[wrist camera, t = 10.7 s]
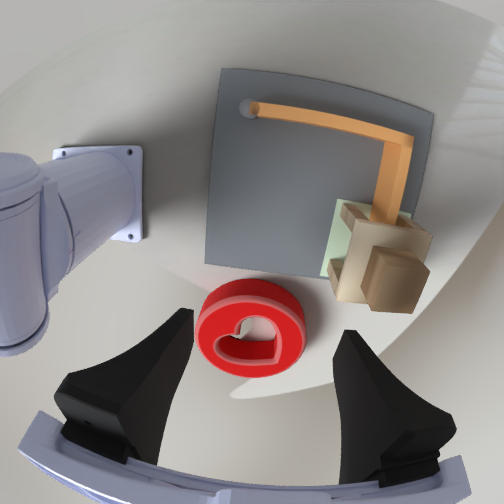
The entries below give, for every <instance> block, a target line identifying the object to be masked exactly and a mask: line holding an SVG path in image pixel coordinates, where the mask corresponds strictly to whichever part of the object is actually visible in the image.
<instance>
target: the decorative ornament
mask: <svg viewBox="0 0 504 504" xmlns="http://www.w3.org/2000/svg"><path fill="white" fill-rule="evenodd" d="M250 317H262V318H265V319H267V320H269V321H270V322H271V323H272V324H273V326H274V328H275V331H276V335H275V339H274V340H271V341H241V340H239V338H235V337H233V336H231V335H239V334H240V329H241V323H242V322H243V321H244V320H245V319H247V318H250ZM195 339H196V343H197V346H198V348H199V350H200V352H201V353H202V355H203V356H204V357H205V358H206V359H207V360H208V361H209V362H210V363H211V364H212V365H213V366H215V367H217V368H218V369H220V370H222V371H224V372H226V373H229V374H232V375H235V376H240V377H246V378H261V377H268V376H272V375H276V374H279V373H281V372H283V371H285V370H287V369H289V368H290V367H291V366H292V365H293V364H295V363H296V362H297V361H298V359H299V358H300V357H301V355H302V353H303V351H304V349H305V346H306V341H307V336H306V328H305V320H304V314H303V310H302V307H301V305H300V303H299V302H298V301H297V299H296V298H295V297H294V296H293V295H292V294H291V293H290V292H288V291H287V290H285V289H284V288H282V287H281V286H279V285H277V284H274V283H271V282H268V281H264V280H259V279H239V280H235V281H231V282H228V283H226V284H224V285H222V286H220V287H219V288H217V289H216V290H214V291H213V292H211V293H210V294H209V295H208V296H207V298H206V300H205V302H204V304H203V307H202V309H201V312H200V315H199V318H198V321H197V323H196V327H195Z"/></svg>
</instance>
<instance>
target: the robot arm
mask: <svg viewBox="0 0 504 504" xmlns="http://www.w3.org/2000/svg"><path fill="white" fill-rule="evenodd" d="M130 149H131V150H132V152H133V153H132V155H130V154H129V150H130ZM64 152H66V155H65V154H64ZM142 162H143V149H142V148H141V147H140V146H85V147H67V148H57V149H55V150H54V151H53V161H49V162H46V163H43V164H39V165H38V164H37V163H36V162H35V161H34V160H33V159H32V158H31V157H29V156H26V155H23V154H18V153H6V152H2V153H0V357H10V356H14V355H19V354H21V353H24V352H26V351H27V350H29V349H31V348H32V347H33V346H35V345H36V344H37V343H38V342H39V341H40V340H41V339H42V337H43V336H44V334H45V332H46V330H47V328H48V324H49V317H50V316H49V315H50V313H49V307H48V301H49V300H50V299H51V298H52V297H53V296H54V295H55V294H56V293H57V292H58V286H59V283H60V281H61V280H62V279H63V278H64V277H65V276H66V275H67V274H69V273H70V271H72V270H73V269H74V268H75V267H76V266H78V265H79V264H80V263H81V262H82V261H83V260H84V259H86V258H87V257H88V256H89V255H90V254H91V253H92V252H94V251H95V250H96V249H97V248H99V247H100V246H101V245H102V244H103V243H105V242H106V241H107V240H108V239H114V240H121V241H128V242H135V243H138V242H140V241H141V240H142V239H143V227H142ZM130 234H132V235H133V238H132V237H131V236H130ZM193 314H194V310H191V309H186V308H180V309H179V310H178V311H177V312H175V313H174V314H173V315H172V316H171V317H170V318H169V319H168V320H167V321H166V322H165V323H164V324H162V325H161V326H160V327H159V328H158V329H157V330H155V331H154V332H153V333H152V334H150V335H149V336H148V337H146V338H145V339H144V340H142V341H141V342H140V343H138V344H137V345H135V346H134V347H132V348H131V349H129V350H127V351H126V352H124V353H122V354H120V355H118V356H116V357H115V358H113V359H110V360H108V361H106V362H103V363H101V364H98V365H96V366H93V367H90V368H87V369H84V370H80V371H76V372H72V373H69V374H68V375H67V376H66V377H65V379H64V380H63V381H62V383H61V385H60V386H59V388H58V390H57V391H56V393H55V394H54V399H55V402H56V404H57V406H58V407H59V409H60V410H61V412H62V413H63V415H64V416H65V417H66V419H67V421H66V422H65V424H63V423H62V422H60V421H59V420H57V419H55V418H53V417H52V416H50V415H48V414H46V413H45V412H43V411H39V412H38V414H37V415H36V417H35V418H34V420H33V422H32V423H31V425H30V427H29V429H28V430H27V432H26V433H25V435H24V437H23V439H22V440H21V442H20V444H19V446H18V447H17V449H18V451H19V452H20V453H21V454H23V455H24V456H25V457H26V458H27V459H28V460H29V461H31V462H32V463H33V464H34V465H35V466H36V467H38V468H39V469H40V470H41V471H43V472H44V473H46V474H47V475H49V476H50V477H52V478H54V479H55V480H58V481H59V482H61V483H62V484H64V485H66V486H68V487H69V488H71V489H73V490H75V491H77V492H79V493H81V494H83V495H84V496H86V497H88V498H90V499H92V500H94V501H97V502H99V503H101V504H455V503H457V502H459V501H461V500H463V499H464V498H466V497H468V496H470V495H471V489H470V485H469V482H468V478H467V474H466V471H465V467H464V464H463V461H462V457H461V455H458V456H455V457H452V458H449V459H446V460H443V461H442V462H439V463H438V460H437V458H438V457H439V456H440V452H439V449H440V448H441V447H443V446H444V445H445V444H446V443H447V442H448V441H449V440H450V439H451V438H452V437H453V436H454V434H455V433H456V430H457V428H456V426H455V423H454V420H453V418H452V415H451V414H449V413H447V412H445V411H443V410H441V409H439V408H437V407H435V406H433V405H432V404H430V403H428V402H427V401H425V400H424V399H422V398H421V397H419V396H418V395H417V394H415V393H414V392H413V391H411V390H410V389H409V388H408V387H406V386H405V385H404V384H403V383H402V382H401V381H400V380H399V379H397V378H396V377H395V376H394V375H393V374H392V373H391V371H390V370H389V369H388V368H387V367H386V366H385V365H384V364H383V363H382V362H381V360H380V359H379V358H378V357H377V356H376V354H375V353H374V352H373V351H372V349H371V348H370V347H369V346H368V344H367V343H366V342H365V341H364V339H363V338H362V337H361V336H360V334H359V333H358V332H357V331H356V330H344V332H343V335H342V337H341V340H340V342H339V345H338V347H337V350H336V352H335V354H334V357H333V377H334V383H335V388H336V394H337V399H338V405H339V411H340V417H341V437H342V438H341V467H340V478H339V485H327V486H275V485H259V484H247V483H239V482H232V481H224V480H218V479H212V478H206V477H201V476H196V475H191V474H187V473H182V472H178V471H174V470H170V469H166V468H162V467H159V466H157V462H158V457H159V452H160V447H161V442H162V438H163V433H164V429H165V425H166V421H167V417H168V414H169V410H170V406H171V403H172V399H173V397H174V394H175V392H176V389H177V387H178V384H179V382H180V380H181V377H182V375H183V373H184V370H185V367H186V365H187V363H188V360H189V357H190V354H191V350H192V347H193V343H194V317H193V316H194V315H193Z"/></svg>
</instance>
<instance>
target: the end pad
mask: <svg viewBox="0 0 504 504" xmlns="http://www.w3.org/2000/svg"><path fill="white" fill-rule="evenodd" d="M342 203H345V204H351V205H355V206H356V207H357V208H358V209H359V210H360V211H361V212H362V213H363V214H364V215H365V216H366V217H367V218H368V219H369V217H370V213H371V209H372V205H369V204H364V203H359V202H354V201H349V200H343V199H338V198H337V203H336V208H335V213H334V217H333V222H332V227H331V231H330V235H329V240H328V244H327V248H326V252H325V256H324V261H323V265H322V269H321V272H320V276H325V277H329V276H328V273H327V267H328V263H329V259H330V260H338V261H342V264H343V265H344V261H345V258H346V254H347V250H348V247H349V243H350V239H351V235H352V232H351V231H350V230H349V228H348V227H347V225H346V224H345V222H344V221H343V220H342V218H341V217H340V212H341V208H342ZM398 214H400V215H405V216H408V217H409V218H410V217H411V213H407V212H402V211H399V212H398Z"/></svg>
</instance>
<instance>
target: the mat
mask: <svg viewBox="0 0 504 504" xmlns="http://www.w3.org/2000/svg"><path fill="white" fill-rule="evenodd" d="M247 98H252V99H255V100H256V101H257V102H260V103H269V104H277V105H284V106H291V107H297V108H303V109H309V110H314V111H319V112H324V113H329V114H334V115H339V116H343V117H347V118H352V119H356V120H360V121H364V122H367V123H371V124H375V125H378V126H382V127H385V128H389V129H392V130H395V131H398V132H402V133H405V134H408V135H411V136H414V142H413V148H412V153H411V159H410V164H409V169H408V174H407V179H406V183H405V188H404V192H403V196H402V200H401V204H400V208H399V211H402V212H407V213H411V217H410V219H411V220H412V219H413V215H414V212H415V208H416V204H417V200H418V196H419V192H420V188H421V183H422V179H423V174H424V169H425V164H426V159H427V154H428V148H429V142H430V136H431V129H432V122H433V114H431V113H429V112H426V111H424V110H421V109H419V108H416V107H413V106H411V105H408V104H405V103H402V102H399V101H396V100H393V99H390V98H387V97H384V96H381V95H378V94H374V93H371V92H367V91H364V90H360V89H356V88H352V87H348V86H344V85H340V84H336V83H331V82H327V81H322V80H317V79H312V78H306V77H300V76H294V75H287V74H280V73H273V72H264V71H254V70H242V69H225V68H221V76H220V83H219V91H218V100H217V108H216V117H215V127H214V136H213V147H212V158H211V169H210V181H209V195H208V209H207V225H206V243H205V264H211V265H219V266H226V267H233V268H241V269H248V270H256V271H263V272H271V273H279V274H287V275H295V276H303V277H311V278H319V279H328V280H330V279H329V277H325V276H320V272H321V269H322V265H323V261H324V256H325V252H326V248H327V244H328V240H329V235H330V231H331V227H332V222H333V217H334V213H335V208H336V203H337V198H338V199H343V200H349V201H354V202H359V203H364V204H369V205H372V203H373V198H374V194H375V189H376V185H377V180H378V175H379V170H380V165H381V160H382V154H383V149H384V143H385V142H383V141H380V140H376V139H372V138H368V137H364V136H360V135H356V134H352V133H348V132H343V131H339V130H334V129H329V128H324V127H319V126H314V125H308V124H302V123H296V122H290V121H283V120H276V119H268V118H260V117H258V118H257V119H249V118H247V117H245V116H243V115H242V114H241V113H240V110H239V106H240V103H241V102H242V101H243V100H244V99H247Z"/></svg>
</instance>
